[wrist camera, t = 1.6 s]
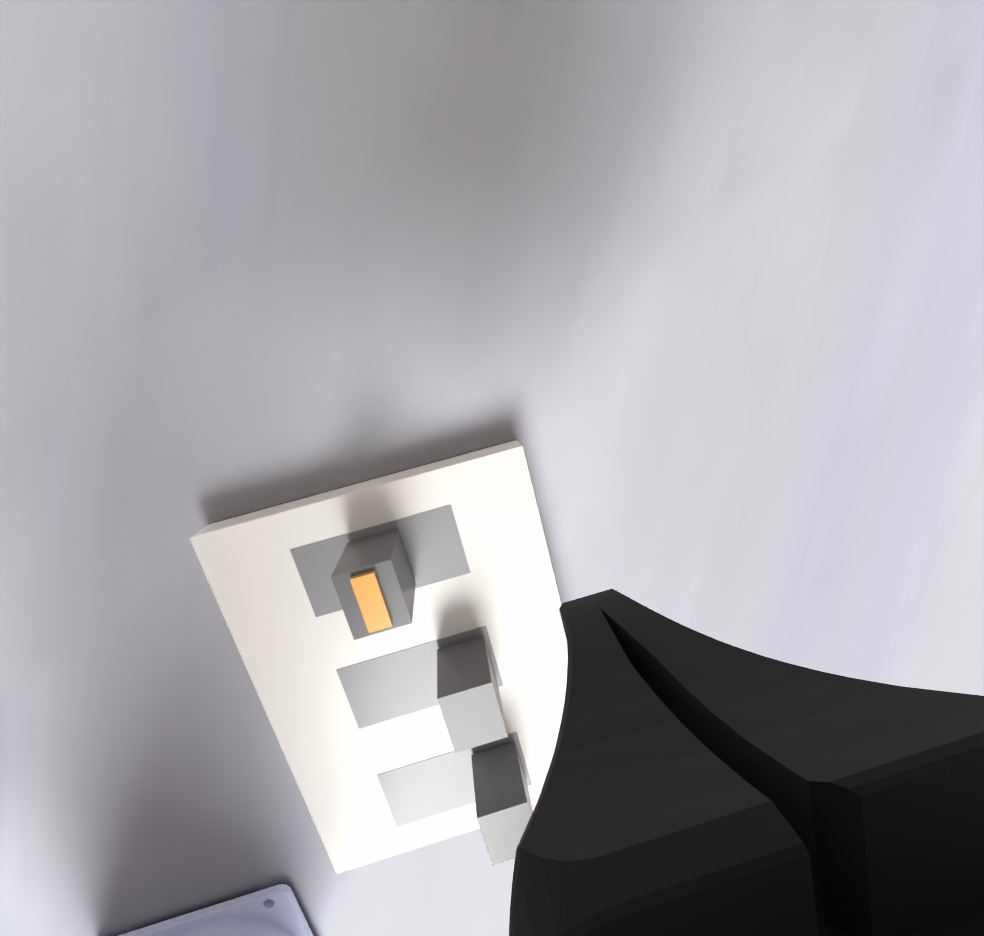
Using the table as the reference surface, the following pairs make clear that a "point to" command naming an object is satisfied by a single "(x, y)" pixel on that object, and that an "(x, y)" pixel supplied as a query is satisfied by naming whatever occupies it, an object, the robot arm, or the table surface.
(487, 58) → the table surface
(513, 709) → the breaker panel
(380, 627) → the breaker
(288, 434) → the table surface
